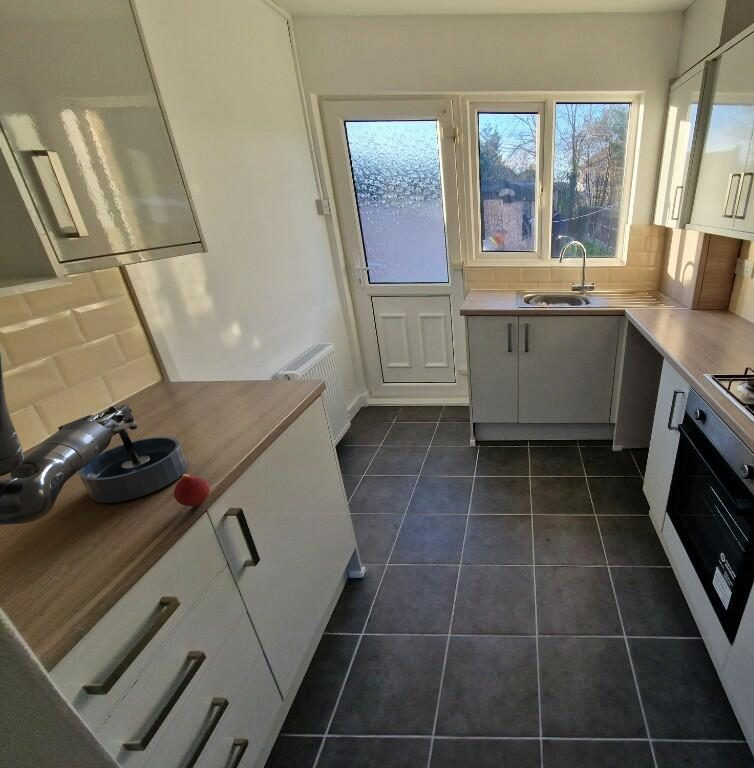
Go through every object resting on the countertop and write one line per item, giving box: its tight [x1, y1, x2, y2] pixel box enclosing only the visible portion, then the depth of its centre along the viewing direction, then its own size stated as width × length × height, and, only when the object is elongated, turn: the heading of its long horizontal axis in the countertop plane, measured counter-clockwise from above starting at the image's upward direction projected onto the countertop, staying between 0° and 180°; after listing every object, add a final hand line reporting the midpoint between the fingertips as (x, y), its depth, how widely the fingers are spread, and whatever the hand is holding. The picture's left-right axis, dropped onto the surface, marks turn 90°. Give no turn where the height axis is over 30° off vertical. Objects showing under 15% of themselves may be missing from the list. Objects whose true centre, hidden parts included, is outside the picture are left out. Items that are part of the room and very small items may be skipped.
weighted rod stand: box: [107, 405, 153, 474], centre depth 94 cm, size 5×5×17 cm
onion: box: [173, 473, 211, 508], centre depth 86 cm, size 6×6×8 cm
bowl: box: [77, 436, 188, 504], centre depth 95 cm, size 17×17×6 cm
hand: (122, 409), depth 94 cm, fingers closed on weighted rod stand, 1 cm apart
